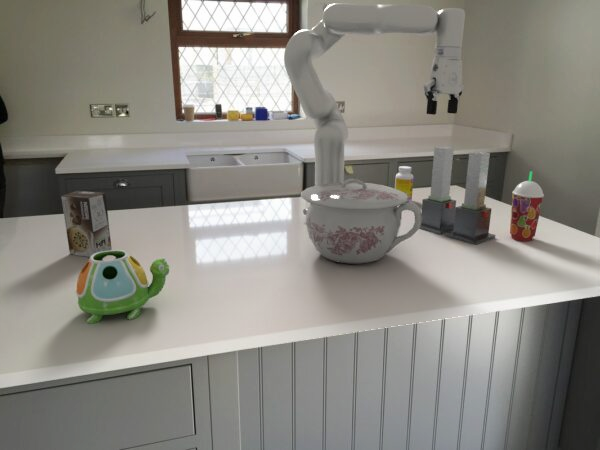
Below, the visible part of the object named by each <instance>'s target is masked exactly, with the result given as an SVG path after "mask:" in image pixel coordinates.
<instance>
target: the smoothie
mask: <svg viewBox="0 0 600 450" xmlns="http://www.w3.org/2000/svg"><path fill="white" fill-rule="evenodd" d="M532 178H533V171H529V176H528V180H524V181H522V182H520V183H518V184H517V185H516V186H515V188H514V189H513V190H512V193H511V194H512V196H511V211H510V227H509V228H510V229H509V234H510V237H511V239H513V240H516V241H519V242H530V241H533V239H534V237H535V236H536V232H537V228H538V224H539V218H540V214H541V210H542V206H543V200H544V197H545V194H544V193H543V192H544V191H543V189H542V187H541V186H540V185H539V183H537V182H536V181H532Z"/></svg>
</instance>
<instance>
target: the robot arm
mask: <svg viewBox="0 0 600 450" xmlns="http://www.w3.org/2000/svg"><path fill="white" fill-rule="evenodd" d="M465 18H466V12H465V10H464V9H462V8H458V7H451V8H450V7H448V8H446V7H445V8H442V9H441V10H435V8H433V7H432V6H430V5H427V4H426V5H425V4H401V3H400V4H399V3H398V4H386V3H384V4H382V3H381V4H374V3H373V4H372V3H365V4H364V3H341V2H340V3H331V4H329V5H327V6H326V8H325V9H324V10H323V12H322V17H321V20H320V21H319V22H318V23H317V24H316V25H315V26H313V27H312V28H311V29H300V30H298V31H297V32H295V33H294V34H293V35H292V36H291V37H290V38H289V40H288V42H287V44H286V46H285V49H284V55H283V61H284V69H285V72H286V74H287V76H288V78H289V80H290V83H291V84H292V88H293V90H294V92H295V94H296V96H297V99H298V102H299V104H300V105H301V108H302V110H303V113H304V114H305V116H306V117H307V118H309V119H310V120H313V123H314V125H315V126H316V128H317V129H316V130H315V134H314V139H313V141H314V142H313V143H314V145H313V146H314V186H317V185H321V184H328V183H339V182H345V143H346V142H347V140H348V139H349V129H348V126H347V123H346V121H345V119H344V116H343V115H342V111H341V110H340V108H339V106H338V103H337V101H336V99H335V97H334V96H333V94H332V93H331V92H330V91H328V90H326V89H325V88H324V87H323V84H322V83H321V80H320V77H319V75H318V72H317V71H316V70H315V68H314V65H313V61H312V60H316V59H319V58H320V57H322V56H323V55H324V54H325V53H326V52H327V51H328V50H330V49H331V48H332V47H333V46H334V45H335V44H337V43H338V42H339V41H340V40H342V38H343V37H345V35H359V36H360V35H362V36H380V35H384V34H396V33H397V34H400V33H401V34H414V35H416V36H418V37H429V36H430V37H431V36H435V45H434V55H433V57H434V58H433V60H432V64H431V67H430V68H431V69H430V74H429V81H428V82H426V83H425V84H424V85H423V90H424V95H425V97H426V98H425V99H426V101H427V103H426V104H427V105H426V114H427V115H432V116H433V115H436V114H437V107H438V100H437V98H438V97H439V95H440V94H441V95H448V98H449V99H448V101H447V109H446V111H447V114H457V113H458V108H459V107H458V106H459V100H460V99H461V96H462V93H463V91H464V89H465V85H464V83H463V61H462V59H461V58H462V49H463V47H462V46H463V37H464V28H465V20H466V19H465ZM307 209H308V208H304V209H303V210H302V212H303V214H304V215H305V216H306V210H307Z"/></svg>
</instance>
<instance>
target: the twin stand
mask: <svg viewBox="0 0 600 450" xmlns="http://www.w3.org/2000/svg"><path fill="white" fill-rule="evenodd" d="M490 155H491V152H485V151H478V150H477V151H470V152H468V163H467V171H466V182H465V190H464V200H463V203H461V205H459V206H456V208H455V218H454V229H453V231H450V232H447V233H445V237H448V238H451V239H455V240H458V241H461V242H465V243H468V244H471V245H479V244H482V243H485V242H488V241H491V240H493V239H494V240H495V238H496V234H493V233H490V225H491V217H492V216H491V215H492V210H493V209H492V208H490V207H488V206H487V204H485V198H486V190H487V181H488V175H489V173H488V172H489V165H490Z"/></svg>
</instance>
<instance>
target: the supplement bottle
mask: <svg viewBox="0 0 600 450" xmlns="http://www.w3.org/2000/svg"><path fill="white" fill-rule="evenodd" d="M412 169H413V168H412V167H411V166H407V165H402V166H398V172H397V173H396V175H395V180H394V181H395V182H394V189H397V190H400V191H402V192H404V193H405V194H406V195H407V196H408V200H407V202H406V203H408V202H410V201H412V200H413V192H414V191H413V189H414V187H413V186H414V175H413V174H412V173H411V172H412Z"/></svg>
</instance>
